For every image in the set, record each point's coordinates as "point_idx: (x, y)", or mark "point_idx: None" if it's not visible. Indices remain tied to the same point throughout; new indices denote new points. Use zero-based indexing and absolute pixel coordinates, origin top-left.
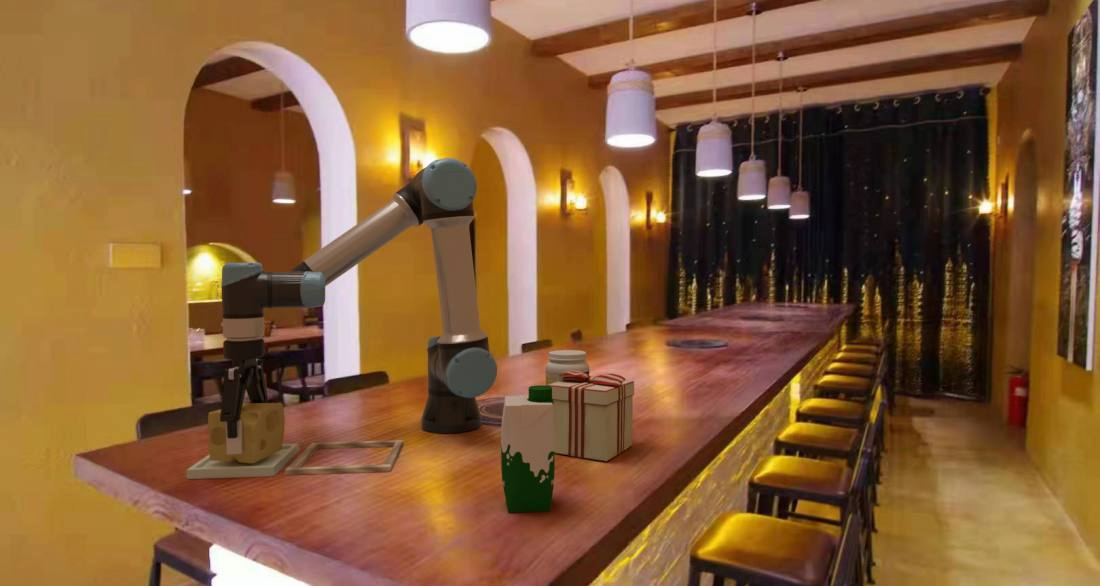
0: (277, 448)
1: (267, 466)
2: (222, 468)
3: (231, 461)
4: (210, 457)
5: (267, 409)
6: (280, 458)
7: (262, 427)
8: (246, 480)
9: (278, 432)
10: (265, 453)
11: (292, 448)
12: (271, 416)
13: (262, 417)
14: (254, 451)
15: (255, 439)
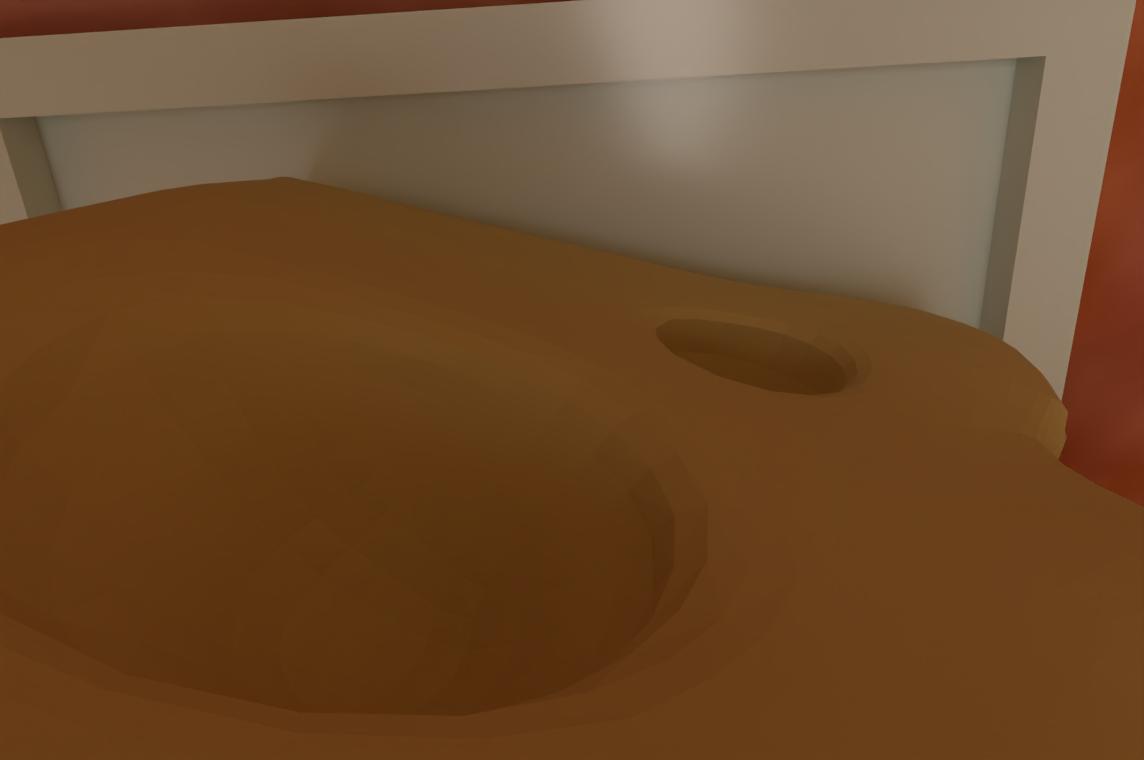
0: (390, 208)
1: (1080, 79)
2: None
3: None
4: None
5: None
6: (696, 32)
7: (865, 519)
8: (1134, 265)
9: (290, 257)
10: (678, 281)
11: (168, 44)
12: (131, 615)
13: (966, 741)
14: (1030, 364)
15: (1050, 460)
